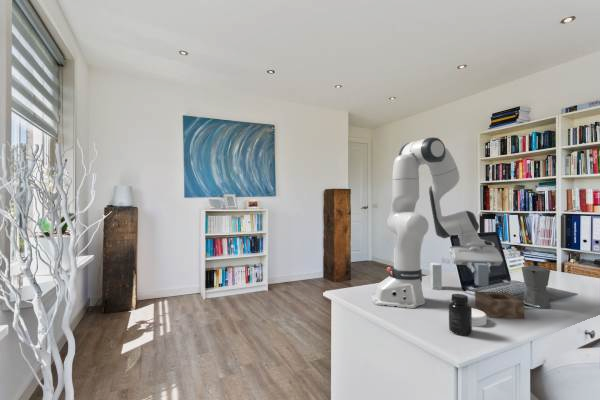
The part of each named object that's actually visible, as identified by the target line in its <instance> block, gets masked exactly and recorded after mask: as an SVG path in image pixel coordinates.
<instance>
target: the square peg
mask: <svg viewBox="0 0 600 400" xmlns="http://www.w3.org/2000/svg"><path fill="white" fill-rule="evenodd" d="M473 267H474V268H476V270H477V272H476V273H473V274H474V277H473V278H474V279H473V280H474V284H475V285H476V286H477V287H489V273H488V265H487V264H485V263H474V265H473Z"/></svg>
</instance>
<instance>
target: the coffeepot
mask: <svg viewBox="0 0 600 400" xmlns="http://www.w3.org/2000/svg"><path fill="white" fill-rule="evenodd" d="M538 263H539V262H538V261H536V260H534V261H532V264H533V265H525V266H521V271H522V277H523V282H524V284H525V288H524V292H523V296H522V301H525V302H526V303H530V304H533V305H539V306H540V307H539V308H538V309H541V310H546V309H550V308H552V307H551V302H550V298H549V292H548V290H547V287H548V286H549V279H550V274H551V270H550V269H549V268H547V267H544V266H540V264H538Z"/></svg>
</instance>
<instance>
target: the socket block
mask: <svg viewBox="0 0 600 400" xmlns="http://www.w3.org/2000/svg"><path fill="white" fill-rule="evenodd" d="M474 296H475V297H474V298H475V299H474V301H475V303H474V304H475V307H476V309H478V310H481V311H483V312H484V313H485V314H486V316H487V318H496V319H497V318H498V319H526V318H525V305H524V302H523V300H521V299H519V298H518V297H516V296H514V295H513V294H510V293H509V292H505V291H504V292H503V291H502V292H501V291H474Z"/></svg>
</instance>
